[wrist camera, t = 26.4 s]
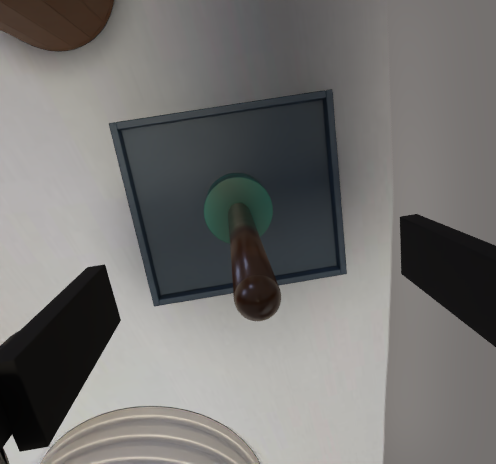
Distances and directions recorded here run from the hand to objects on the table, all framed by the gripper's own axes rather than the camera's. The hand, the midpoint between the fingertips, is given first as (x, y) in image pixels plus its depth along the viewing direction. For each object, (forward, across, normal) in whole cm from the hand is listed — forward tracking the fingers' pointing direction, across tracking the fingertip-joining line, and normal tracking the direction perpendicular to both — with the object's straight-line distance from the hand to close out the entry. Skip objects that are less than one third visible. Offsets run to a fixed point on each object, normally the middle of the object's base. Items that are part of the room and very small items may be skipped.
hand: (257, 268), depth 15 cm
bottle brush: (+18, 0, 0) cm, 18 cm away
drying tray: (+18, 0, 0) cm, 19 cm away
